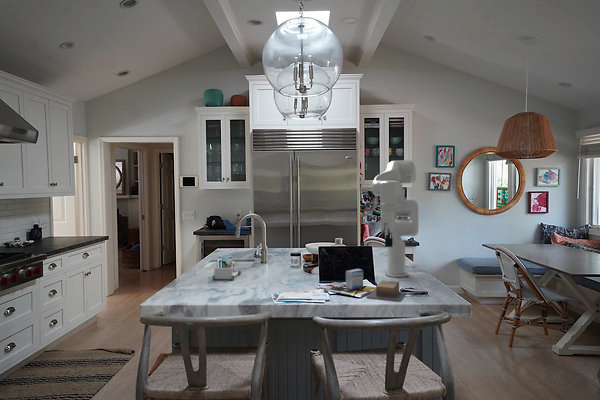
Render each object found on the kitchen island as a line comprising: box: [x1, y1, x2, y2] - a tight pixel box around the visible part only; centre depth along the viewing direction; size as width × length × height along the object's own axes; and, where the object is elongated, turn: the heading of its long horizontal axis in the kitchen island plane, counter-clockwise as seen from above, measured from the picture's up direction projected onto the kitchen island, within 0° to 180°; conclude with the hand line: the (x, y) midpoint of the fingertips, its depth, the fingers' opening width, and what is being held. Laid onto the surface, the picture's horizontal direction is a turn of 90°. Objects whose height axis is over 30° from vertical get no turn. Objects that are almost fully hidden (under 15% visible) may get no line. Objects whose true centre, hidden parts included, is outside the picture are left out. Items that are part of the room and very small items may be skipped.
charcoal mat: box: [366, 288, 407, 303], centre depth 183 cm, size 14×15×1 cm
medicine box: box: [345, 268, 364, 290], centre depth 198 cm, size 8×4×9 cm, turn 126°
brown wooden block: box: [375, 280, 400, 297], centre depth 185 cm, size 4×8×12 cm
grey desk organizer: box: [212, 257, 242, 282], centre depth 225 cm, size 18×10×12 cm
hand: (388, 246), depth 187 cm, fingers closed
